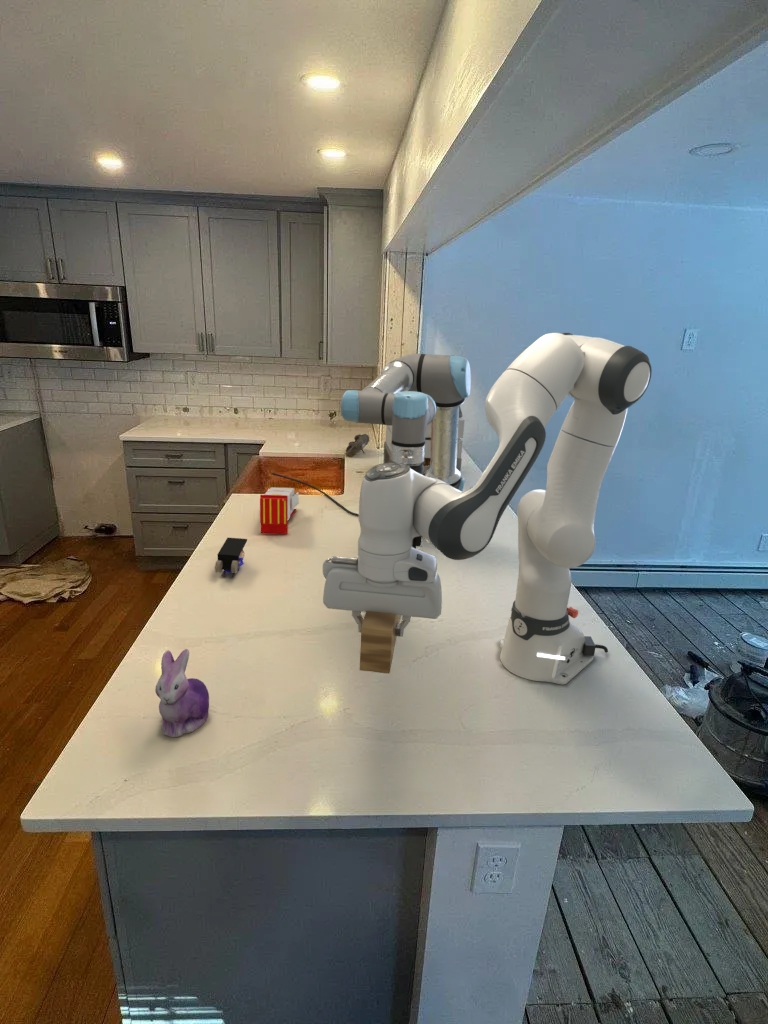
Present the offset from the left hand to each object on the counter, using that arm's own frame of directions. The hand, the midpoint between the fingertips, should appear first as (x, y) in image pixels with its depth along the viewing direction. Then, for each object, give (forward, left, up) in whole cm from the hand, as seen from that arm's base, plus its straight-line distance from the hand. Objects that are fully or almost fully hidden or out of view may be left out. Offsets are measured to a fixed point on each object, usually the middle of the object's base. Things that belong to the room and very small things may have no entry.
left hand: (401, 556), depth 135 cm
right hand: (+26, -28, +2) cm, 38 cm away
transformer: (-98, +103, -19) cm, 143 cm away
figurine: (+2, -55, -19) cm, 58 cm away
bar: (+13, -14, -1) cm, 19 cm away
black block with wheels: (-53, -18, -19) cm, 59 cm away
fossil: (-145, +101, -19) cm, 178 cm away
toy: (-80, +14, -19) cm, 84 cm away
